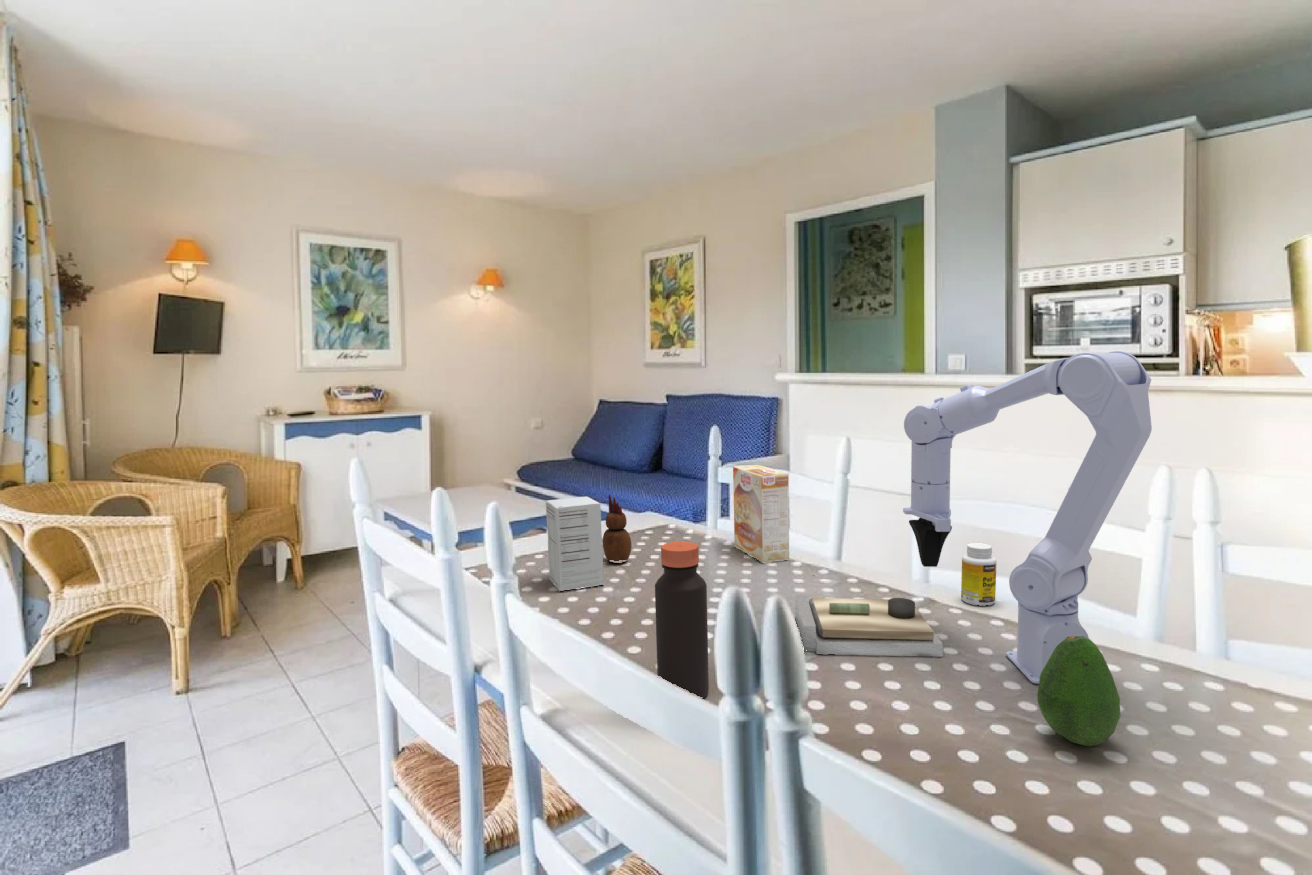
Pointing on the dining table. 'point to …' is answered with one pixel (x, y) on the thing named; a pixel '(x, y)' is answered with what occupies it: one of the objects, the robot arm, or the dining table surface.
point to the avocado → (1079, 693)
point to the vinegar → (682, 619)
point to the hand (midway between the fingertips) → (929, 565)
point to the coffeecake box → (761, 512)
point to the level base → (858, 640)
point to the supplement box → (574, 542)
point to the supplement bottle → (978, 575)
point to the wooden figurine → (616, 534)
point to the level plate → (869, 618)
